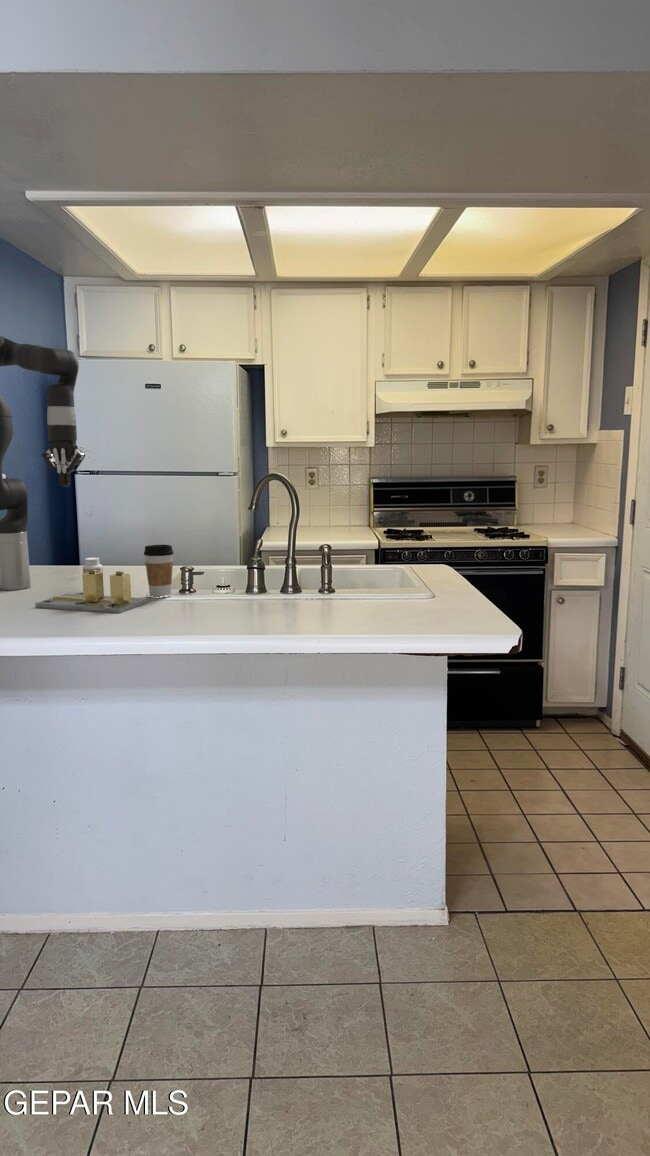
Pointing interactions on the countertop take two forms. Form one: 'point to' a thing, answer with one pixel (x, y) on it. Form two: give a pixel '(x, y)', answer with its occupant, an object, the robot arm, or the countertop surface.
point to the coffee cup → (159, 569)
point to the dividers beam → (112, 590)
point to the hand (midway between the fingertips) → (65, 486)
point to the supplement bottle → (92, 565)
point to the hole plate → (90, 604)
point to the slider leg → (92, 586)
